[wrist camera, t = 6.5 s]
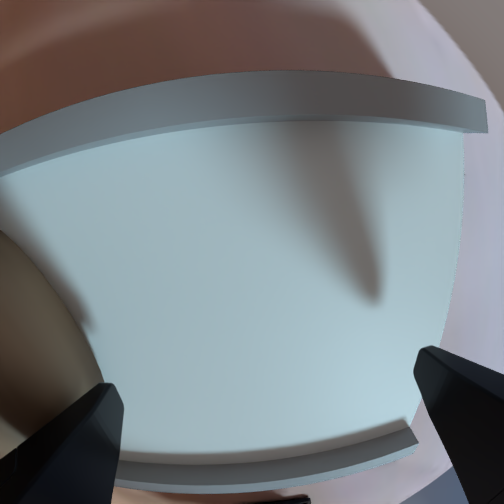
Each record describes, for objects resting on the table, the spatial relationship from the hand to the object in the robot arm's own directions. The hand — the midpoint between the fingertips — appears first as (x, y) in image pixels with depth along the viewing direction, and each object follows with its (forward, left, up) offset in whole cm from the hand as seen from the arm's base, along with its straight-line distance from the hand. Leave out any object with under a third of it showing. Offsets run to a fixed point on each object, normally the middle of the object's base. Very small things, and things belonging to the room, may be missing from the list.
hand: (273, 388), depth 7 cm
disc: (0, +11, -2) cm, 11 cm away
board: (0, +9, -5) cm, 10 cm away
